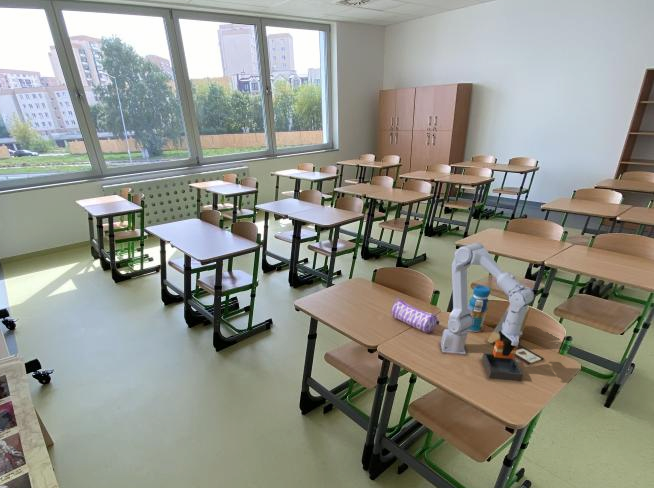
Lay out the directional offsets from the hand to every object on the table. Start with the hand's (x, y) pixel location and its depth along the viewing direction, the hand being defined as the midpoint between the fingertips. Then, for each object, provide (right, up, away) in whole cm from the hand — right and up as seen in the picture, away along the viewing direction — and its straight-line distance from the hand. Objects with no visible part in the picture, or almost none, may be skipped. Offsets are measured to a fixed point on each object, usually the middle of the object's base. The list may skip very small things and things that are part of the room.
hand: (503, 352), depth 150 cm
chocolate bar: (+13, 0, +17) cm, 22 cm away
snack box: (0, -1, +1) cm, 1 cm away
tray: (+1, -7, +5) cm, 9 cm away
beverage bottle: (+1, +12, +35) cm, 36 cm away
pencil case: (-26, +14, +36) cm, 47 cm away
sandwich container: (+12, +6, +26) cm, 29 cm away
